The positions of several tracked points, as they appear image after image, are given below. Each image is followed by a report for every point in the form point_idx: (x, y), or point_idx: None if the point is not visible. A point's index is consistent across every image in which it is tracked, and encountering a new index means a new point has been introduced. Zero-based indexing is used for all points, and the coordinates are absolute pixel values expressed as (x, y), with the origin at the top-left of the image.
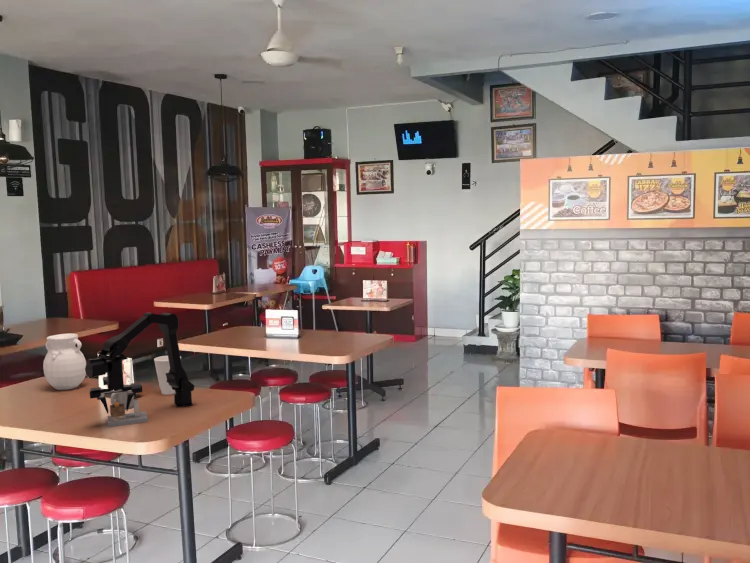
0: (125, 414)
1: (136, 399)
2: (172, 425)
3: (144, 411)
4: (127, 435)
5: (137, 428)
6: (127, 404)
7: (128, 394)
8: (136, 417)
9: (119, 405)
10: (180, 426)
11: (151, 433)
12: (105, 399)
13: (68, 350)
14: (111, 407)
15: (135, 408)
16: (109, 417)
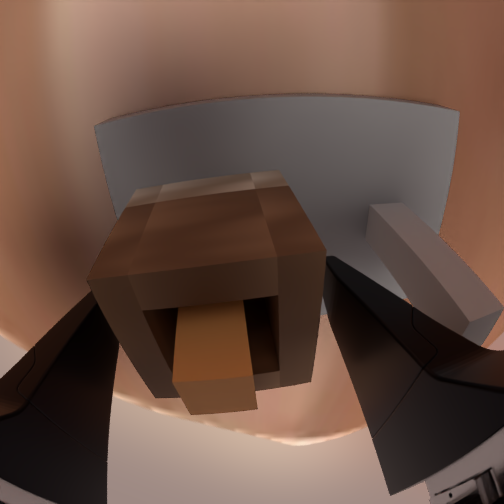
0: (291, 120)
1: (481, 332)
2: None
3: (454, 111)
4: (275, 412)
5: (328, 362)
6: (354, 366)
7: (405, 489)
8: (369, 265)
9: (247, 284)
10: None
11: (357, 402)
12: (105, 498)
13: None
14: (156, 381)
15: (409, 286)
16: (122, 180)
